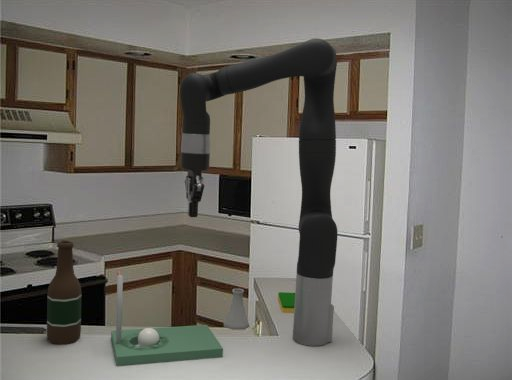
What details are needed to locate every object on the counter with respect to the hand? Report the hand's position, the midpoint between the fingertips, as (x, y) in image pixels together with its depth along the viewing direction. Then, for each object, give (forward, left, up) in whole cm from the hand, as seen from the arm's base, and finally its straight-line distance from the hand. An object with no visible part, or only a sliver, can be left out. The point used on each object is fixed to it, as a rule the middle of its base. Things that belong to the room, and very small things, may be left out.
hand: (192, 216), depth 149 cm
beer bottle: (+32, +6, -29) cm, 44 cm away
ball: (+13, +16, -26) cm, 34 cm away
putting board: (+9, +16, -29) cm, 34 cm away
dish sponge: (-34, -9, -30) cm, 46 cm away
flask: (-12, +5, -29) cm, 32 cm away
